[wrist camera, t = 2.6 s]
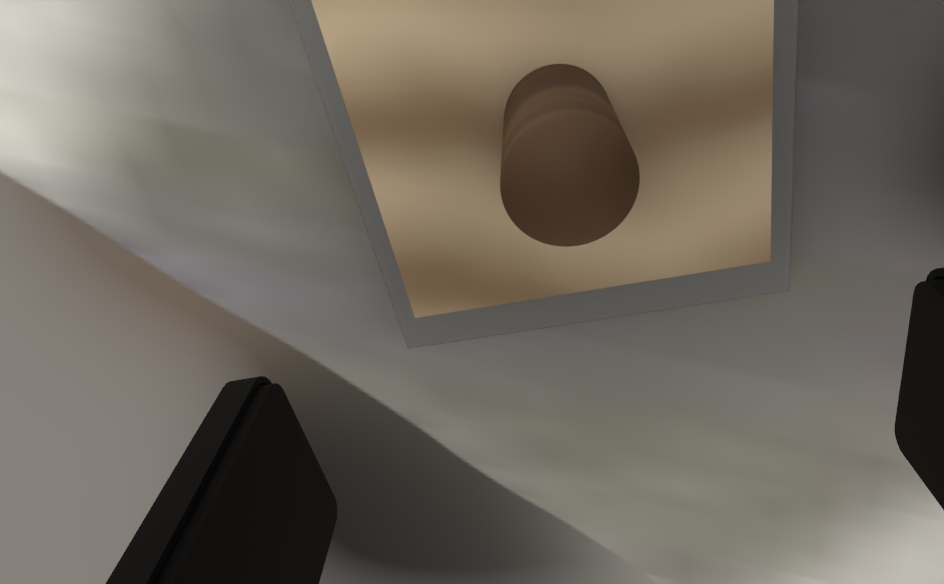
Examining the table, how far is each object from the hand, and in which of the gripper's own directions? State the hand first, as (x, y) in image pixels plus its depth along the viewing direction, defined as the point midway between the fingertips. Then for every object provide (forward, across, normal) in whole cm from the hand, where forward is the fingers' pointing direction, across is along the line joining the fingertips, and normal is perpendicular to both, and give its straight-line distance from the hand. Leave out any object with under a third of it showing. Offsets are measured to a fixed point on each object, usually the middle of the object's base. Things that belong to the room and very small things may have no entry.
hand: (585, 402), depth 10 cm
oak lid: (+15, -1, 0) cm, 15 cm away
